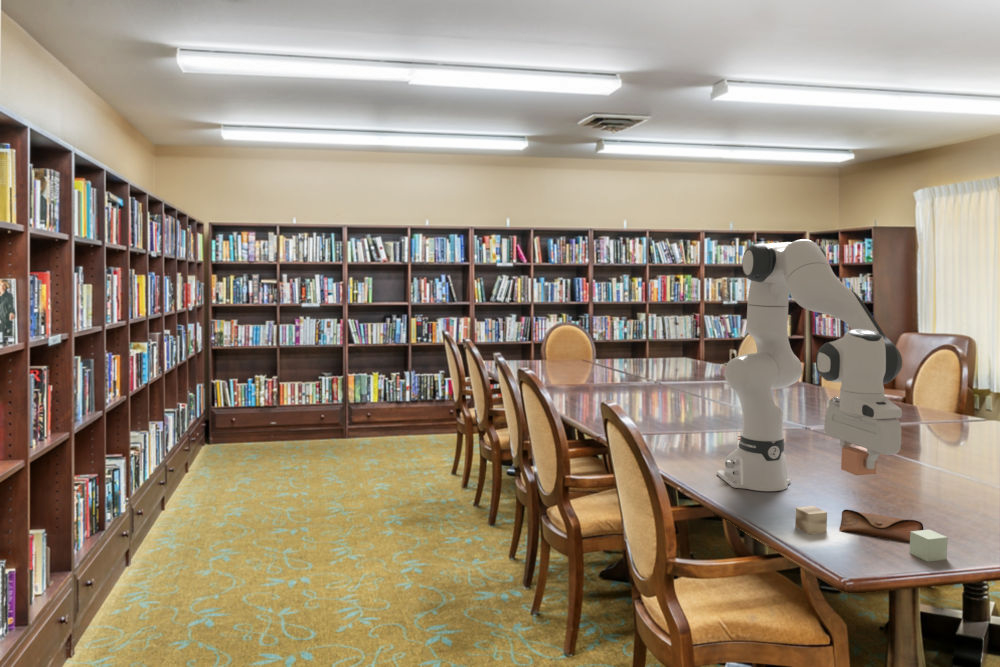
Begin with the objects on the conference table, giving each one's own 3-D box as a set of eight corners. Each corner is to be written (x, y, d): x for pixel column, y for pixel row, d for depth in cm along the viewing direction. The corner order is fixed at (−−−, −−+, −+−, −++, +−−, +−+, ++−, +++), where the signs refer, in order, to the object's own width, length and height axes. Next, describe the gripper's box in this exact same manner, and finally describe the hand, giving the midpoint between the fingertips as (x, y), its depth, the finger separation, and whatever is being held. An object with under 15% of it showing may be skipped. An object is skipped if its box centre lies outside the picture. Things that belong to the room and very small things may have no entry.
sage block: (909, 553, 164) (910, 531, 164) (928, 551, 166) (929, 529, 165) (927, 561, 160) (928, 539, 159) (946, 559, 161) (947, 537, 160)
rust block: (841, 469, 168) (842, 447, 167) (859, 467, 169) (860, 446, 168) (856, 475, 163) (857, 453, 162) (875, 473, 164) (877, 451, 163)
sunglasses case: (836, 531, 178) (839, 504, 181) (839, 537, 184) (842, 511, 186) (922, 545, 169) (923, 516, 171) (922, 551, 174) (924, 523, 176)
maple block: (795, 527, 181) (795, 507, 181) (812, 525, 183) (813, 505, 182) (808, 534, 177) (809, 514, 176) (826, 532, 178) (827, 512, 177)
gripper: (818, 395, 173) (816, 453, 175) (882, 413, 154) (879, 478, 155) (841, 394, 175) (839, 451, 176) (908, 411, 155) (904, 475, 157)
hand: (858, 464), depth 166 cm, fingers closed on rust block, 5 cm apart
